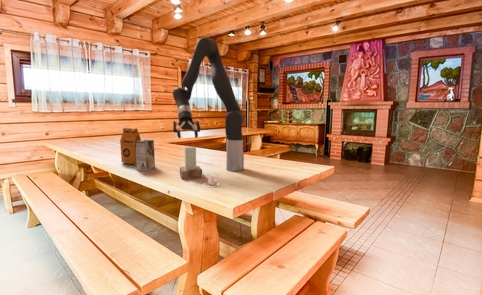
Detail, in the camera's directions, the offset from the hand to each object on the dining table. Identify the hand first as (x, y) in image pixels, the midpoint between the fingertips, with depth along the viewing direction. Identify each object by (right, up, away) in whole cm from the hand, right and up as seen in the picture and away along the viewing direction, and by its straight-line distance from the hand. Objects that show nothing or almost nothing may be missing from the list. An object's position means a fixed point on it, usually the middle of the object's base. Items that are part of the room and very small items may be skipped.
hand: (188, 137), depth 140 cm
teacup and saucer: (+17, -23, -16) cm, 33 cm away
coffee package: (-39, -15, +25) cm, 49 cm away
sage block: (+2, -16, -4) cm, 17 cm away
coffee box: (-26, -18, +12) cm, 34 cm away
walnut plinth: (+2, -20, -4) cm, 21 cm away
